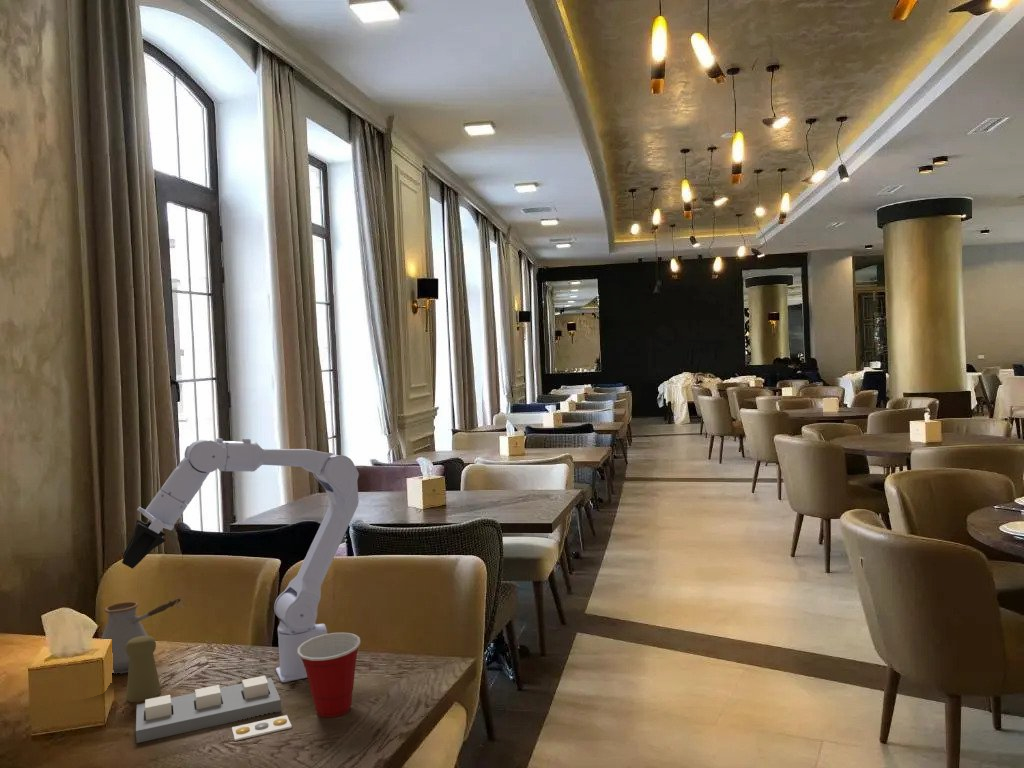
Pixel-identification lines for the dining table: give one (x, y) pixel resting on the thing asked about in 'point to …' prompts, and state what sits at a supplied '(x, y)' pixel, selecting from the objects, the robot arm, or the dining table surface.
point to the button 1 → (158, 707)
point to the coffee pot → (126, 629)
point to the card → (261, 727)
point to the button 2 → (255, 687)
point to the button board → (205, 712)
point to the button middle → (208, 697)
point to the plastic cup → (331, 671)
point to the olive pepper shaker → (142, 669)
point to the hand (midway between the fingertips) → (127, 562)
